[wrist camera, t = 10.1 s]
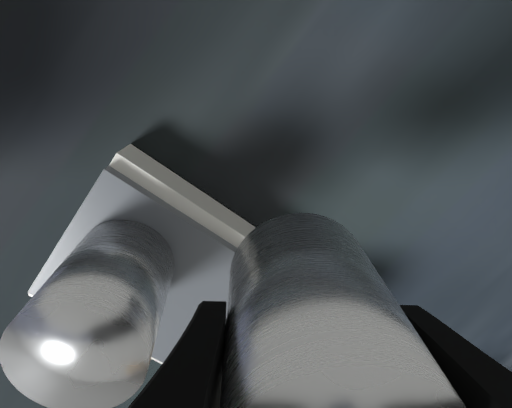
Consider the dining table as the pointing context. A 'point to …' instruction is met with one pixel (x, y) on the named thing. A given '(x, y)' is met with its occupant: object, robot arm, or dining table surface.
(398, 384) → the cylinder
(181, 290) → the grey boxy piece
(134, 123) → the dining table surface
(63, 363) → the steel weight
